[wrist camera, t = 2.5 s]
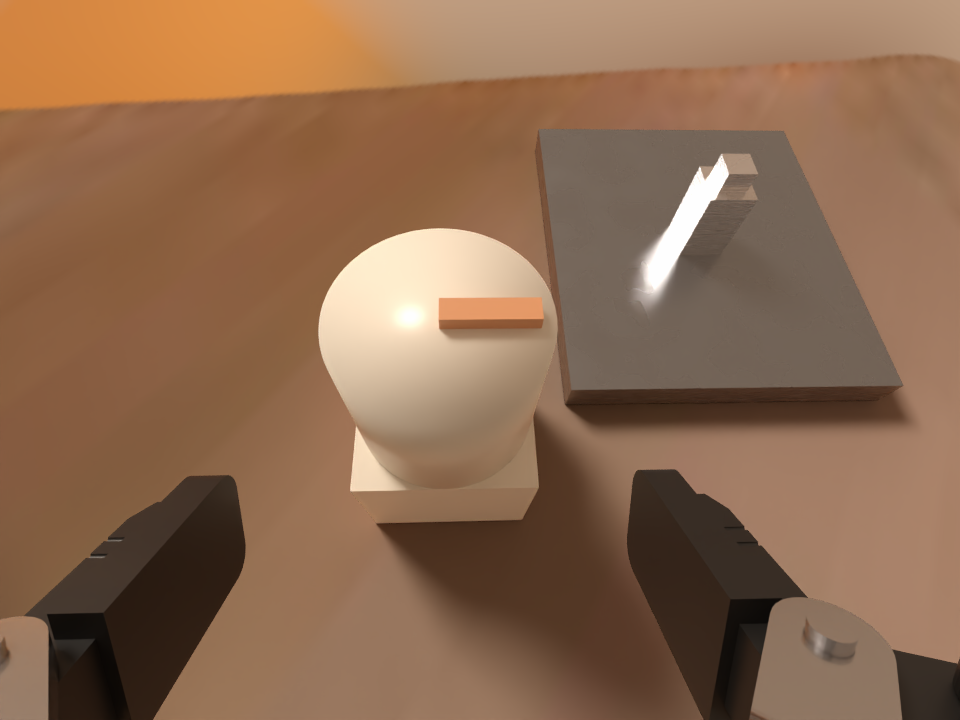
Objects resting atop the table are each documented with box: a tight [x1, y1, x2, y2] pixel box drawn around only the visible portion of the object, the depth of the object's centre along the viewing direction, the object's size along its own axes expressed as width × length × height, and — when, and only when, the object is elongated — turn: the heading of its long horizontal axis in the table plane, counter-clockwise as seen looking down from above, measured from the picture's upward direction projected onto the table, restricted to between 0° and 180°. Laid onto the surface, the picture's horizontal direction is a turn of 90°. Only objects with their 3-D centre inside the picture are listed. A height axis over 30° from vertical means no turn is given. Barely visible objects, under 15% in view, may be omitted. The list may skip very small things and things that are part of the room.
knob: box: [318, 228, 558, 523], centre depth 16 cm, size 6×6×10 cm
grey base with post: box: [535, 129, 903, 405], centre depth 23 cm, size 14×16×6 cm
